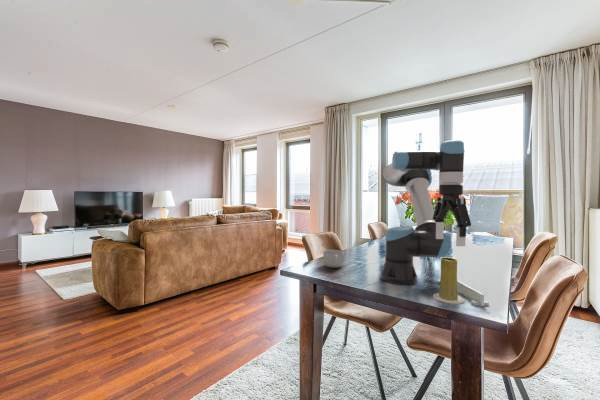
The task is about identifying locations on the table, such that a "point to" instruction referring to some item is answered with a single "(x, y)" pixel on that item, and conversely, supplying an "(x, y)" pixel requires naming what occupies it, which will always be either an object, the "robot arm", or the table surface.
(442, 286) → the vase
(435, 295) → the coaster
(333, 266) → the teacup
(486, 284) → the table surface
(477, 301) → the acrylic wall
